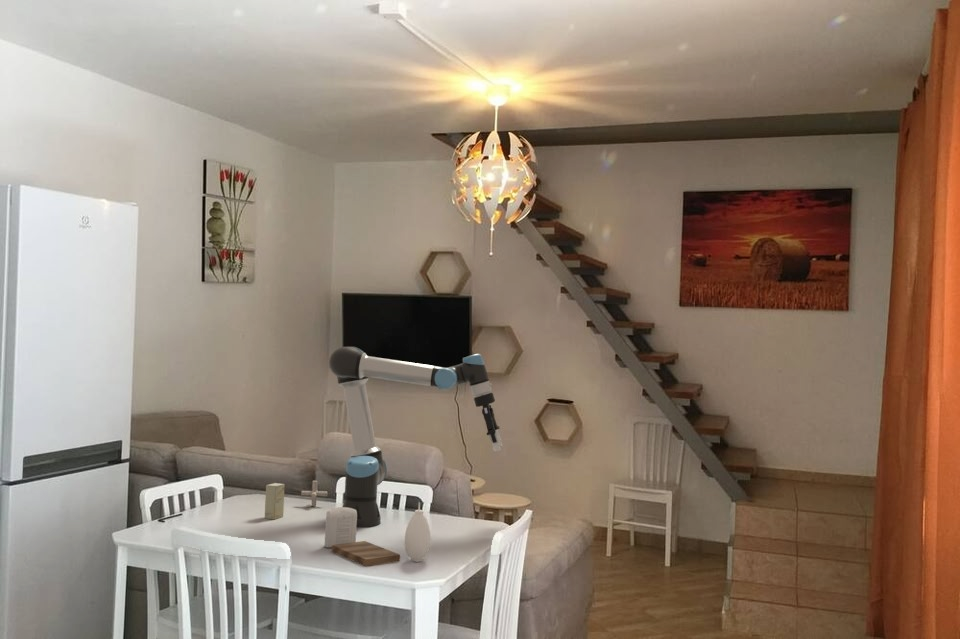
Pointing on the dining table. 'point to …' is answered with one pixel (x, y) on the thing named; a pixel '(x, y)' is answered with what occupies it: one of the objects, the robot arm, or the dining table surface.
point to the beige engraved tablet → (340, 526)
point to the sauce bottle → (417, 536)
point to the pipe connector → (314, 493)
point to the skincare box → (274, 501)
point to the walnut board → (365, 553)
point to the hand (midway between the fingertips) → (498, 449)
